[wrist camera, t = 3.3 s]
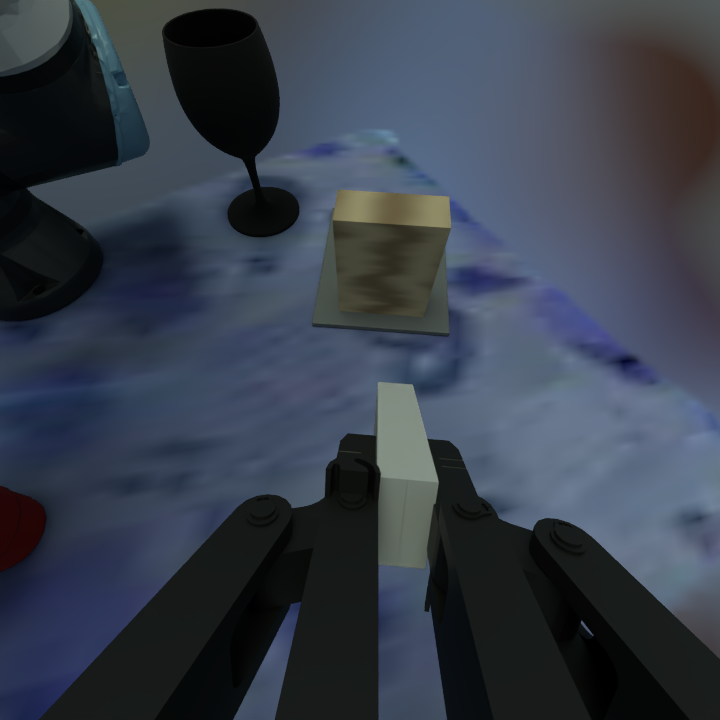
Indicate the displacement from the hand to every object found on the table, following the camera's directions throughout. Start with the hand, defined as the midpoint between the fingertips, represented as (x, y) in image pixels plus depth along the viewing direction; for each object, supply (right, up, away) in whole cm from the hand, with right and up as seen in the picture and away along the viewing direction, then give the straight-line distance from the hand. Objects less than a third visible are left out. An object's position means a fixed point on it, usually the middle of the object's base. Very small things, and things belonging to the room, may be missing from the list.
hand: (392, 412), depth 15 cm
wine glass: (-15, +24, +34) cm, 44 cm away
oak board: (+1, +10, +26) cm, 28 cm away
